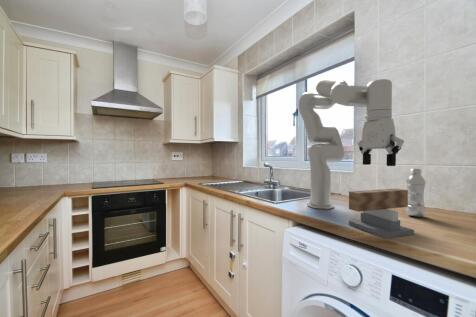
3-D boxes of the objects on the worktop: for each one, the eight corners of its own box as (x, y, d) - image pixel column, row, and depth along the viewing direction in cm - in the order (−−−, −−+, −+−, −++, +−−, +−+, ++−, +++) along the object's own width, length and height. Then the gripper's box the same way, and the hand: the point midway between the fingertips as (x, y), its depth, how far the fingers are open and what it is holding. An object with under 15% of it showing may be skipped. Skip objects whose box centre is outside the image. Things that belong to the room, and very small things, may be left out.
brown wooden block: (358, 211, 73) (358, 193, 73) (348, 208, 77) (348, 191, 77) (407, 206, 80) (407, 189, 80) (396, 204, 84) (396, 188, 84)
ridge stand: (348, 224, 84) (348, 204, 84) (373, 221, 88) (373, 202, 88) (385, 238, 70) (385, 214, 70) (413, 234, 73) (413, 211, 73)
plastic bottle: (425, 216, 95) (426, 168, 95) (425, 219, 90) (425, 169, 90) (406, 213, 99) (407, 168, 99) (405, 216, 94) (405, 169, 94)
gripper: (351, 119, 86) (350, 164, 87) (394, 111, 70) (393, 166, 70) (366, 120, 88) (366, 164, 89) (411, 112, 72) (411, 166, 72)
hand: (378, 165), depth 79 cm, fingers open, 9 cm apart
